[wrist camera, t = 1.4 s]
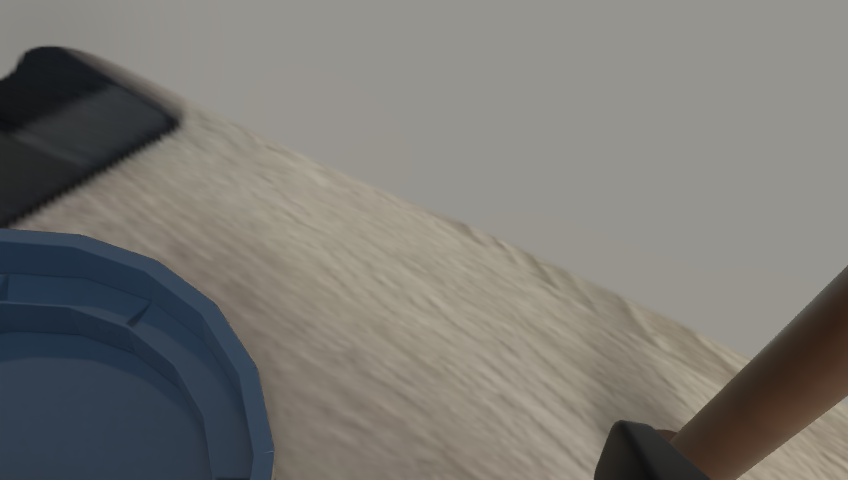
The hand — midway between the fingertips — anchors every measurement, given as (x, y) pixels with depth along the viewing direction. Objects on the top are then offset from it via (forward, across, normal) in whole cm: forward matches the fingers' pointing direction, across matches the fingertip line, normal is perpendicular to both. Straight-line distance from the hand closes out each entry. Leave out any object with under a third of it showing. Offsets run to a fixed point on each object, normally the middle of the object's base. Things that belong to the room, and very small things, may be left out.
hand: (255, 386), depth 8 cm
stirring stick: (+12, -13, +12) cm, 21 cm away
